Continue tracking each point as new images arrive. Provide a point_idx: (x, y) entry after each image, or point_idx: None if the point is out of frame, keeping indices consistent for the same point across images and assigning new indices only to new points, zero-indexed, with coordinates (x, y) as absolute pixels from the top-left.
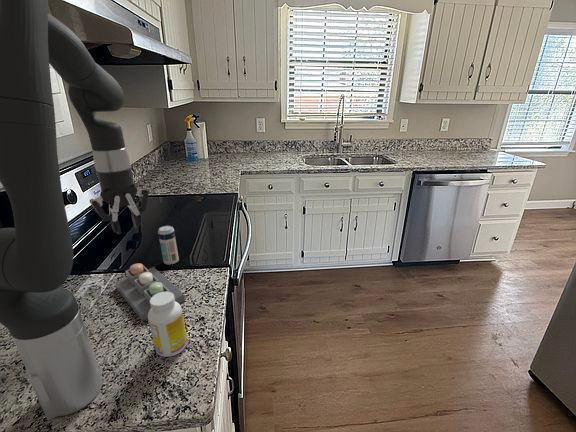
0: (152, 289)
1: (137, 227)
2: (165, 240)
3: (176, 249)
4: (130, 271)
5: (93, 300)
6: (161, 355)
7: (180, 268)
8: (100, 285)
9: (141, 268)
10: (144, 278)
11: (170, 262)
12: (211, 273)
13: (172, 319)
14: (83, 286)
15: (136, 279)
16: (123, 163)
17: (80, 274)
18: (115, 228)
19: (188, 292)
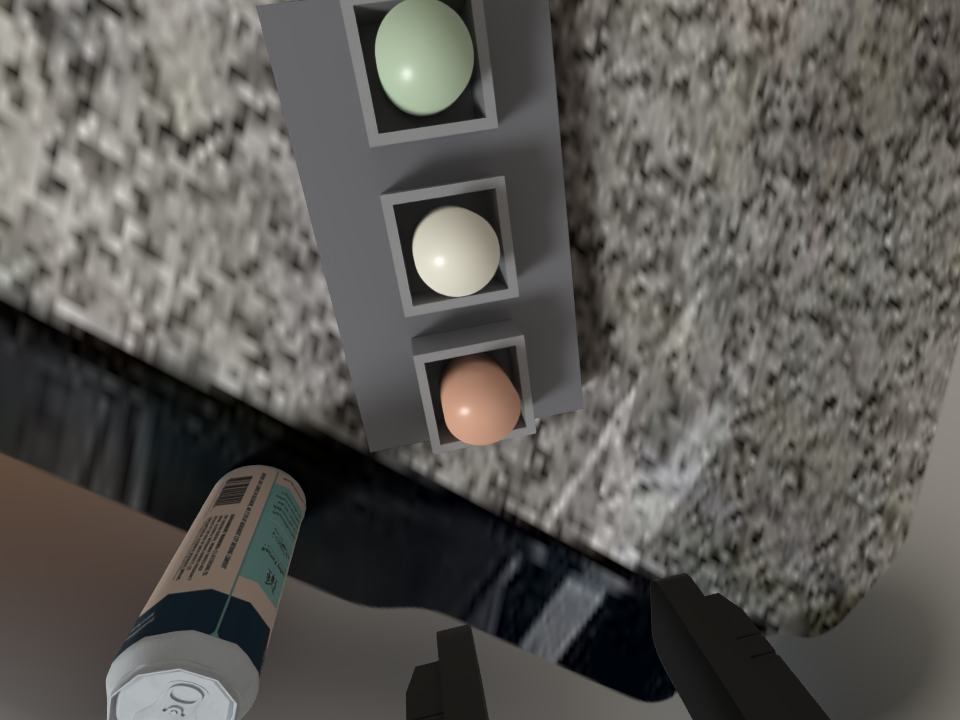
0: (456, 18)
1: (460, 636)
2: (227, 590)
3: (189, 534)
4: None
5: (677, 345)
6: None
7: (223, 402)
8: (624, 454)
9: (456, 381)
10: (471, 218)
11: (267, 473)
12: (24, 231)
13: None
14: (682, 483)
15: (504, 296)
16: None
17: None
18: (744, 644)
19: (226, 102)
